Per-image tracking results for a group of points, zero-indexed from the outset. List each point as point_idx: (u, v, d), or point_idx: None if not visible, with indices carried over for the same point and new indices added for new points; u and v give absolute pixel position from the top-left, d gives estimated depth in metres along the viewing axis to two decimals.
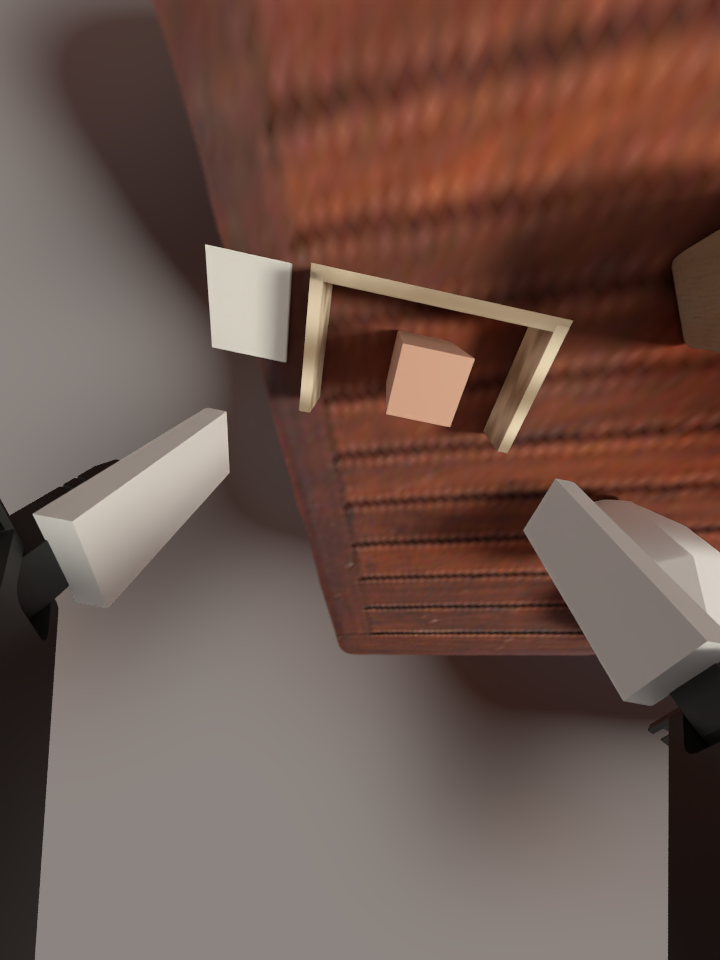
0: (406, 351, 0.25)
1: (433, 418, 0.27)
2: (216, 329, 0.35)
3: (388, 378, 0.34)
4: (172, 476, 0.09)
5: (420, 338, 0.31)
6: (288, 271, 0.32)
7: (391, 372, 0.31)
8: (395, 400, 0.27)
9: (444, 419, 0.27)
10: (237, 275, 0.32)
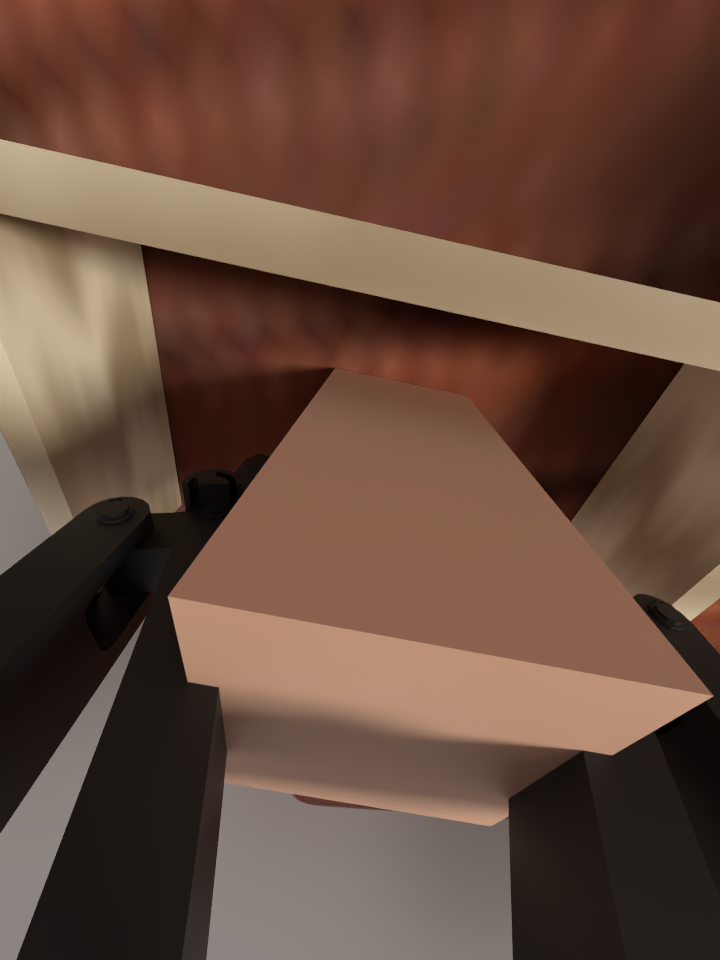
0: (213, 633, 0.03)
1: (419, 807, 0.06)
2: None
3: None
4: None
5: (381, 411, 0.09)
6: None
7: None
8: (235, 762, 0.06)
9: (467, 814, 0.06)
10: None
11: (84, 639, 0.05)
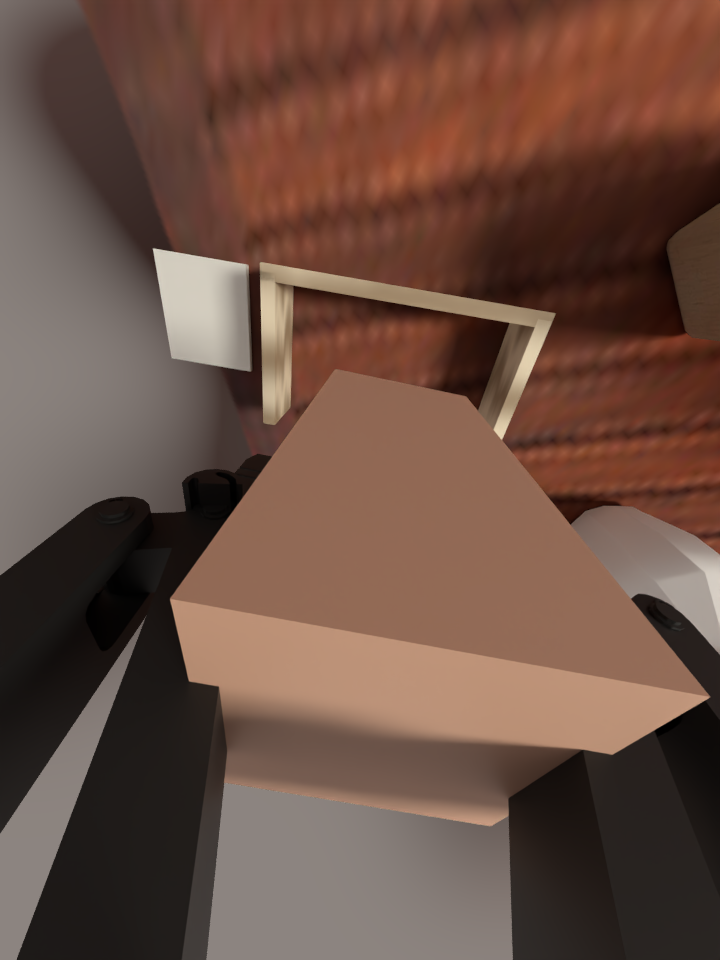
0: (215, 635, 0.03)
1: (419, 807, 0.06)
2: (174, 339, 0.33)
3: None
4: None
5: (381, 413, 0.09)
6: (243, 273, 0.29)
7: None
8: (236, 762, 0.06)
9: (467, 814, 0.06)
10: (190, 280, 0.30)
11: (85, 639, 0.05)
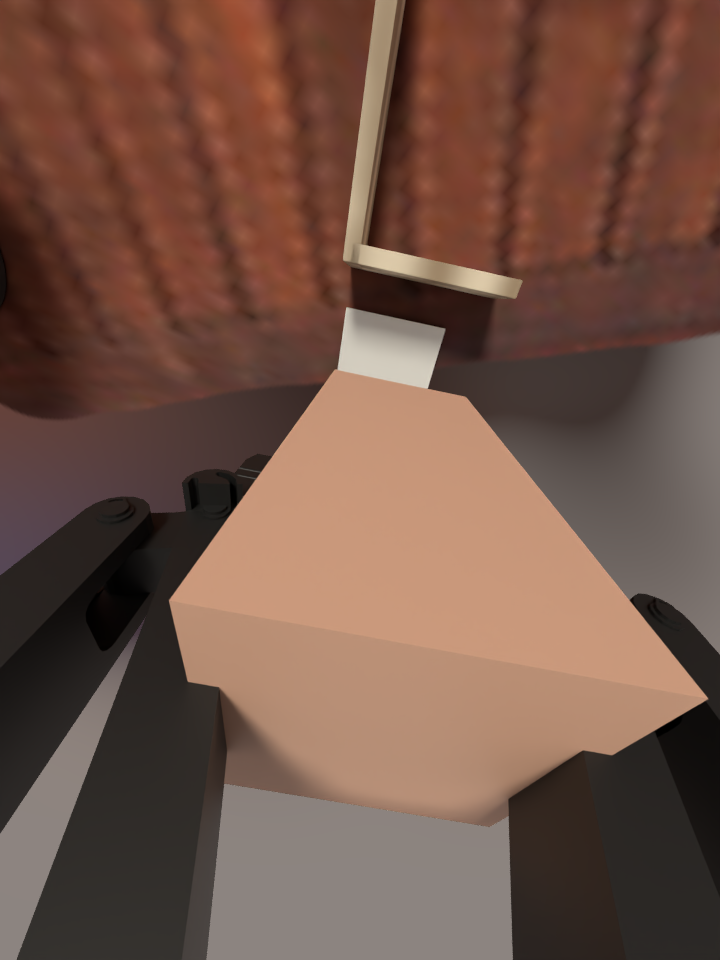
0: (213, 637, 0.03)
1: (418, 808, 0.06)
2: None
3: None
4: None
5: (381, 414, 0.09)
6: (353, 311, 0.30)
7: None
8: (235, 763, 0.06)
9: (466, 814, 0.06)
10: (357, 371, 0.33)
11: (85, 638, 0.05)
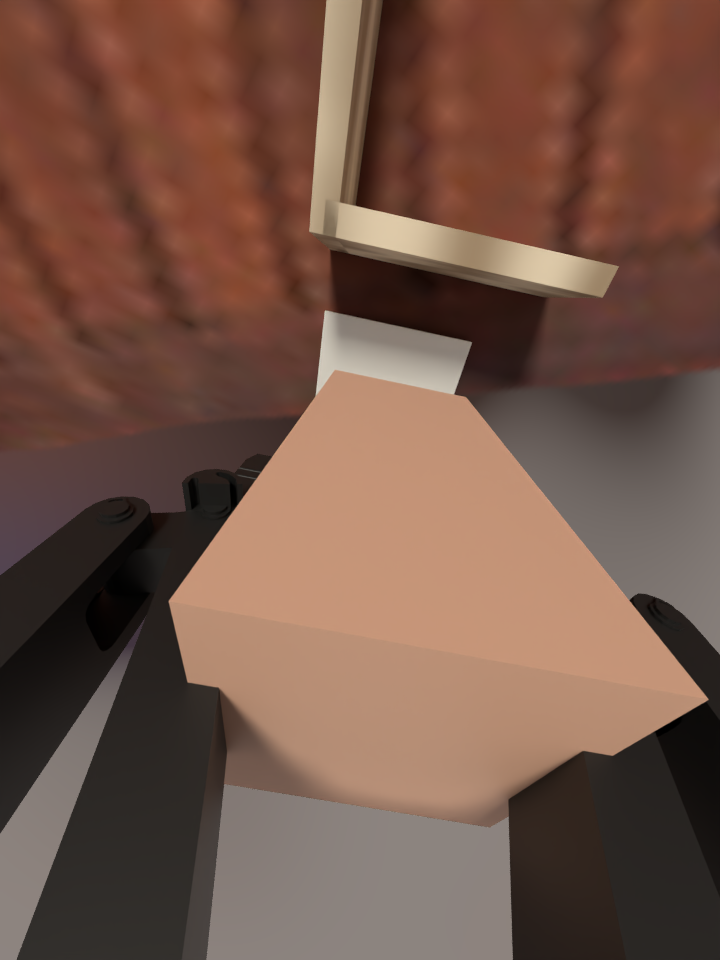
0: (213, 637, 0.03)
1: (418, 809, 0.06)
2: None
3: None
4: None
5: (381, 414, 0.09)
6: (335, 317, 0.20)
7: None
8: (235, 763, 0.06)
9: (466, 814, 0.06)
10: None
11: (84, 639, 0.05)
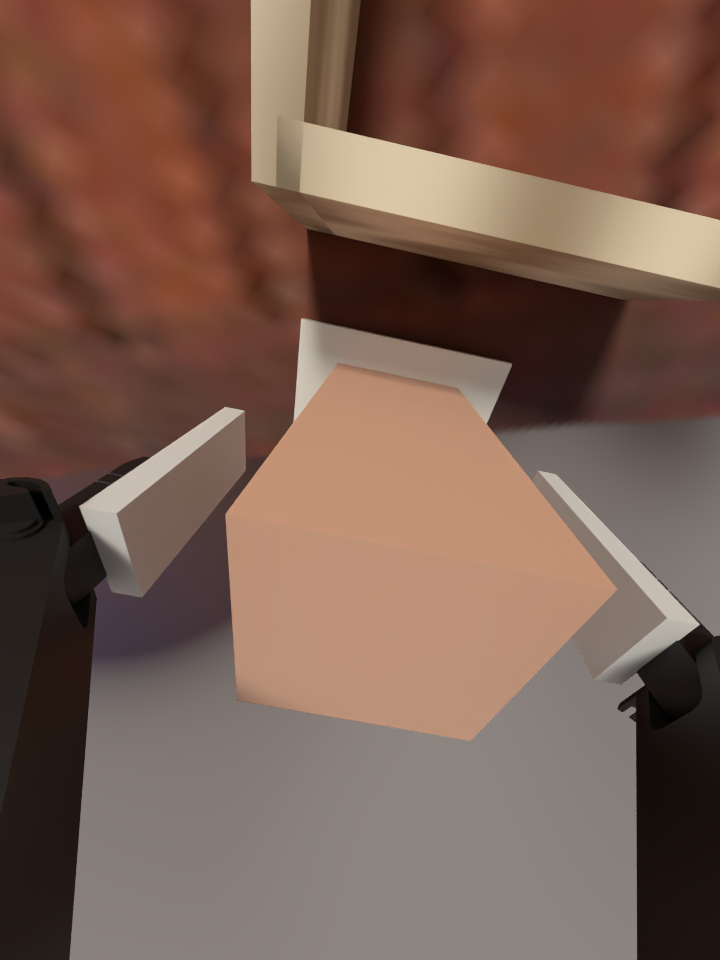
0: (255, 546, 0.05)
1: (410, 722, 0.07)
2: None
3: None
4: (198, 472, 0.09)
5: (380, 399, 0.11)
6: (317, 327, 0.14)
7: None
8: (259, 677, 0.07)
9: (449, 726, 0.07)
10: None
11: None
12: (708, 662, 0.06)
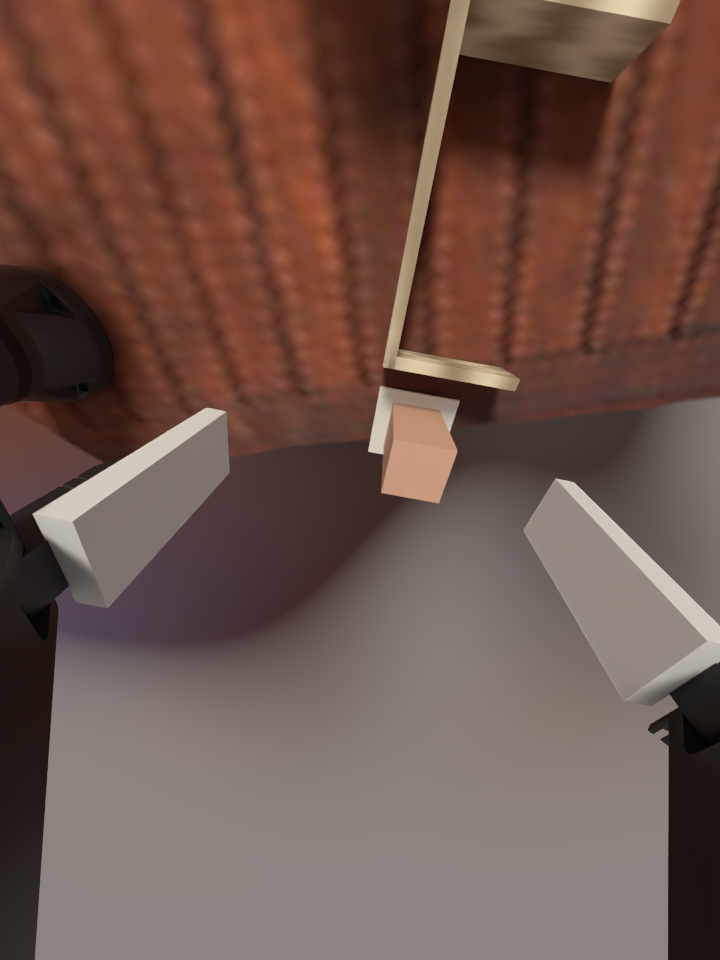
0: (396, 445, 0.28)
1: (423, 496, 0.31)
2: None
3: (385, 446, 0.38)
4: (172, 476, 0.09)
5: (412, 417, 0.34)
6: (385, 389, 0.37)
7: (386, 447, 0.35)
8: (389, 482, 0.30)
9: (433, 497, 0.31)
10: None
11: None
12: None
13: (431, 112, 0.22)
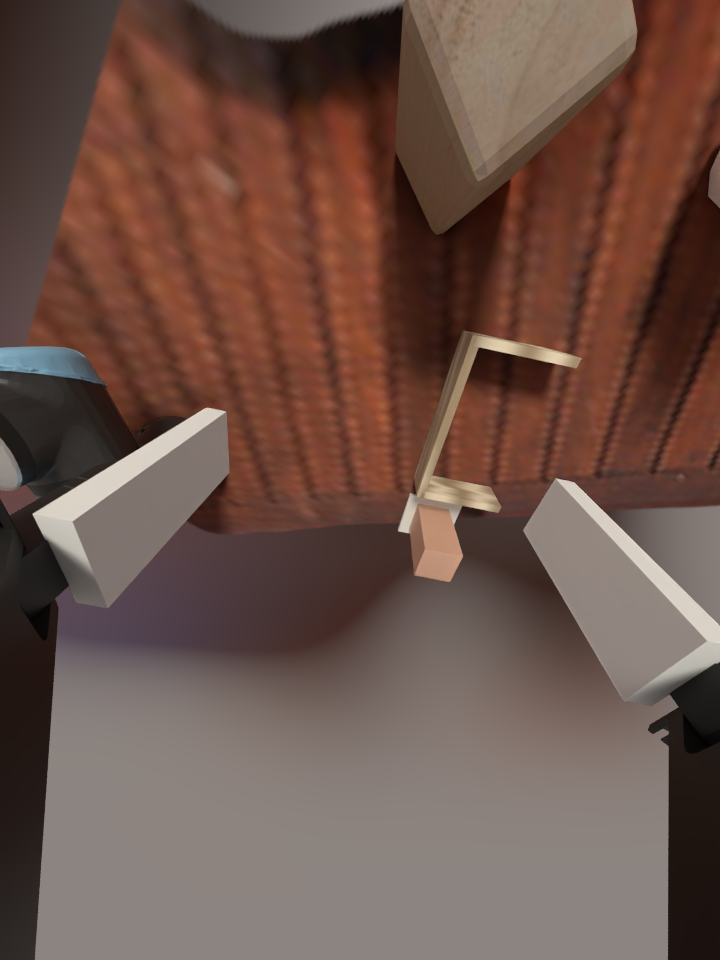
0: (426, 552, 0.47)
1: (440, 578, 0.49)
2: None
3: (412, 533, 0.56)
4: (172, 476, 0.09)
5: (432, 521, 0.53)
6: (413, 496, 0.56)
7: (415, 539, 0.53)
8: (419, 570, 0.49)
9: (446, 578, 0.49)
10: None
11: None
12: None
13: (454, 389, 0.40)
